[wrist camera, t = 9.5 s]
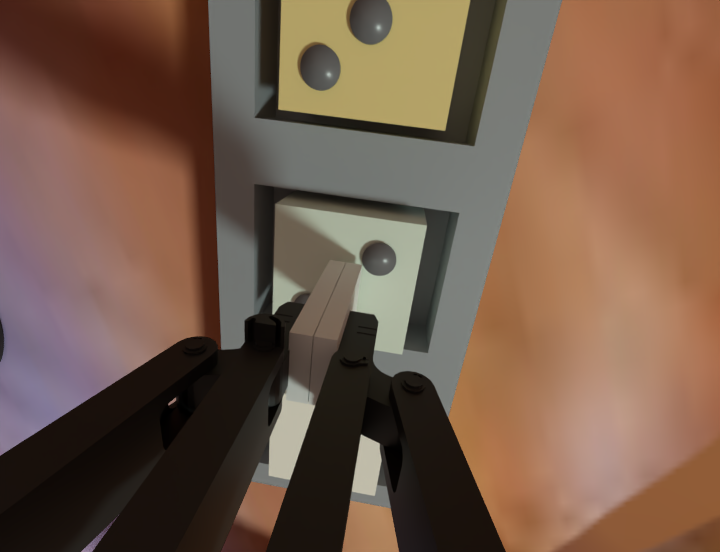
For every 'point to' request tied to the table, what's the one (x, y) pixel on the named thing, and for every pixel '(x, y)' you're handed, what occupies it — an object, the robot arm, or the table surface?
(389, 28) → the tile three
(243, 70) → the tile board
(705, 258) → the table surface
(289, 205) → the tile two
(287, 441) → the tile one
